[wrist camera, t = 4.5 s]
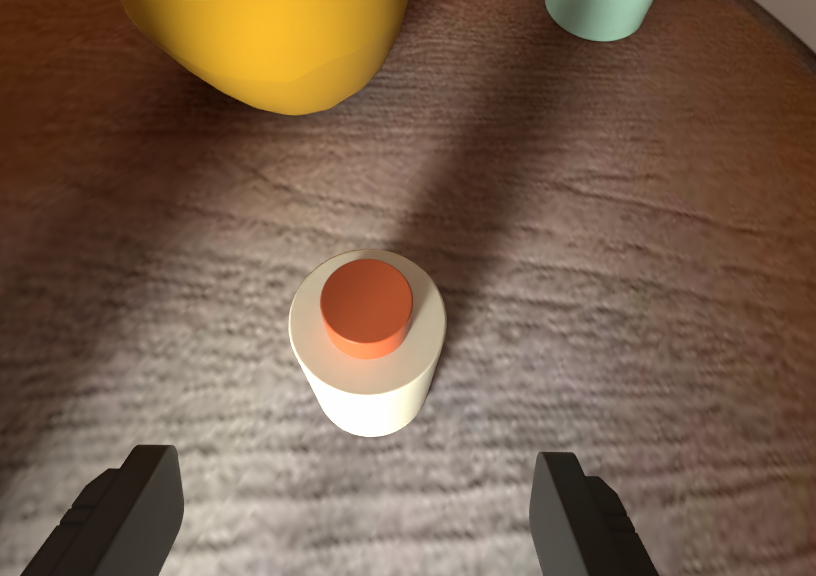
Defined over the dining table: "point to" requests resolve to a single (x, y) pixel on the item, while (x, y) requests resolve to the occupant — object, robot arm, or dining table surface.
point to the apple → (275, 46)
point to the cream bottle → (368, 338)
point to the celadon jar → (599, 17)
